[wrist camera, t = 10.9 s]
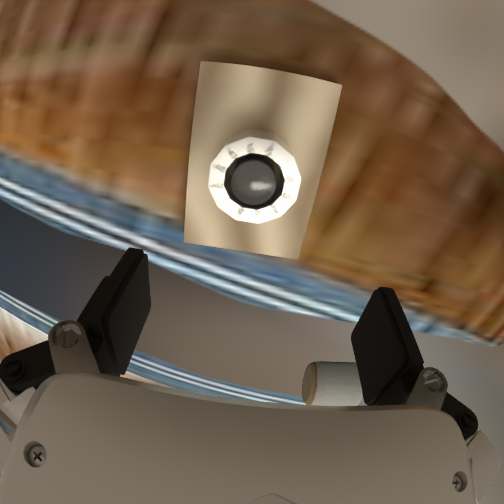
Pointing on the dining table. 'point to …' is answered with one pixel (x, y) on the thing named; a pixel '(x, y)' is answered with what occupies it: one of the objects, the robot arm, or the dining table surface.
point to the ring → (285, 184)
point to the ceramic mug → (332, 384)
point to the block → (302, 146)
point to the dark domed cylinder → (253, 179)
